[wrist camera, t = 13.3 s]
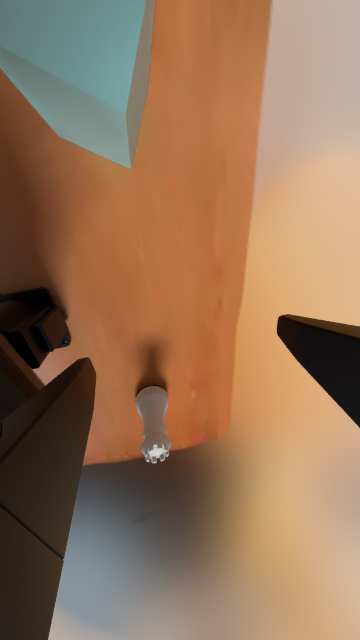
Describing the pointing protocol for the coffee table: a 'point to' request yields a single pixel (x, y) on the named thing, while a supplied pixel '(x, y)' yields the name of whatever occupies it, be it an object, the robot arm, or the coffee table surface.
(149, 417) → the rook chess piece
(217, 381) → the coffee table surface
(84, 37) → the teal square top
